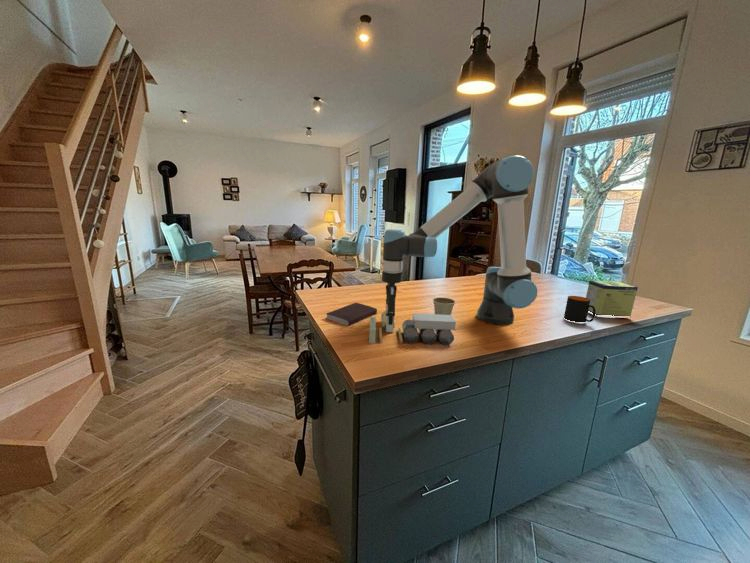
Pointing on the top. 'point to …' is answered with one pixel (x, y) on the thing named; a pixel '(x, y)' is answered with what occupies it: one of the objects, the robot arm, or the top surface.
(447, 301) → the flower pot
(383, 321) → the roller
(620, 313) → the protein box
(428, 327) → the slab
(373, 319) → the stop fence
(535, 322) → the top surface
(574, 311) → the mug
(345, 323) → the book
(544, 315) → the top surface
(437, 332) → the roller track
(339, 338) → the top surface
